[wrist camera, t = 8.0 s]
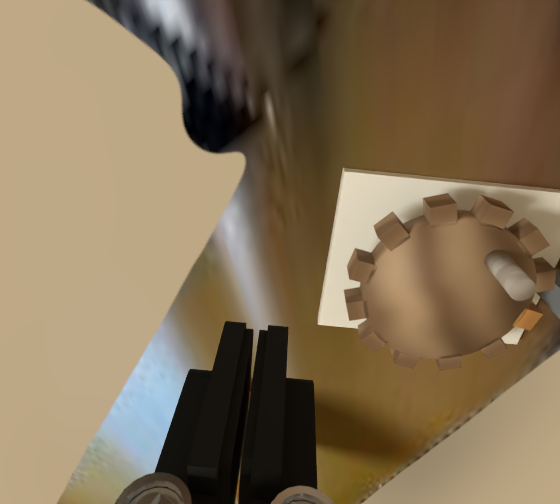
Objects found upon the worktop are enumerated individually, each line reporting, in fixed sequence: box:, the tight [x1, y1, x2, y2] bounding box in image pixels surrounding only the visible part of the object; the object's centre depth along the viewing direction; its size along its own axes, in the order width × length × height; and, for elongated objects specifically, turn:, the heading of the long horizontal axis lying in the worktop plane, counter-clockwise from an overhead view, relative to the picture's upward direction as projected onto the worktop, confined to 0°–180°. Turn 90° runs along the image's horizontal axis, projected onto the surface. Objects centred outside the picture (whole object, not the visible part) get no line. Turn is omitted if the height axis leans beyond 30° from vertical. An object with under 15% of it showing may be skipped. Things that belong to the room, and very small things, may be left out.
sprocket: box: [344, 193, 556, 370], centre depth 37 cm, size 19×19×7 cm
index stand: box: [318, 168, 560, 344], centre depth 40 cm, size 19×25×9 cm
